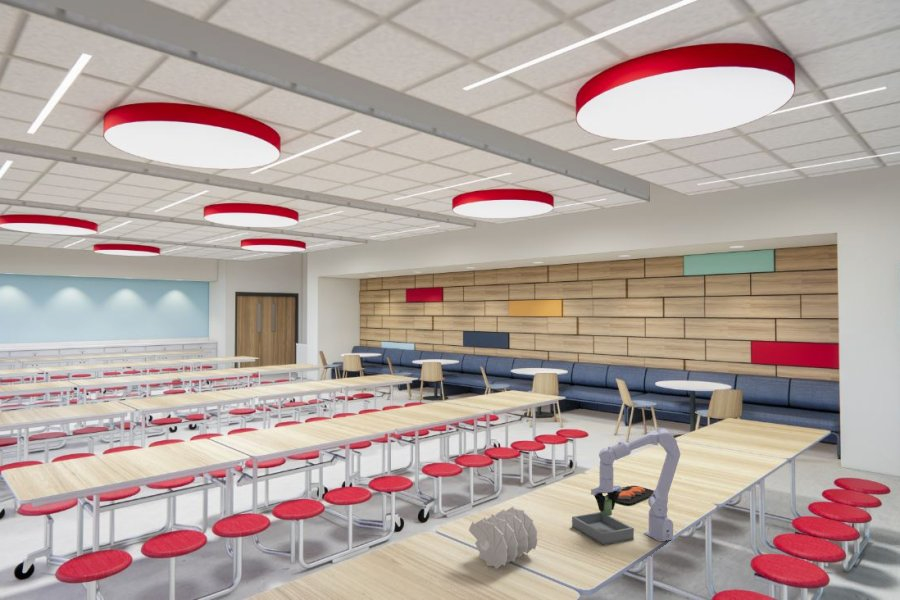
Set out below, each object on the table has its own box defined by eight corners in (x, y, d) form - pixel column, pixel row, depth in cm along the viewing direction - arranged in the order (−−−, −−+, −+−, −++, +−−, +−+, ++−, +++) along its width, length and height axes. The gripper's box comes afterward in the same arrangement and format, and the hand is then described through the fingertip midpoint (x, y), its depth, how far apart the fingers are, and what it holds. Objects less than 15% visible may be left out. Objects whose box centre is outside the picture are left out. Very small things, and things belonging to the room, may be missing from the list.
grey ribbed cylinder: (532, 563, 206) (492, 583, 188) (500, 531, 218) (459, 547, 200) (551, 525, 202) (512, 541, 184) (517, 494, 213) (477, 507, 195)
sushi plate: (629, 508, 258) (629, 500, 258) (576, 492, 280) (576, 484, 280) (658, 495, 277) (658, 487, 277) (607, 481, 299) (607, 474, 300)
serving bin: (633, 539, 220) (633, 528, 220) (602, 545, 214) (602, 534, 214) (601, 521, 238) (601, 511, 239) (572, 527, 232) (572, 516, 232)
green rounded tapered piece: (614, 514, 227) (614, 500, 227) (604, 516, 226) (604, 501, 226) (607, 511, 232) (607, 497, 232) (597, 512, 230) (597, 498, 230)
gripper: (613, 473, 235) (613, 504, 235) (586, 476, 230) (586, 508, 229) (624, 478, 229) (624, 510, 228) (597, 481, 223) (597, 514, 223)
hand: (606, 509), depth 228 cm, fingers closed on green rounded tapered piece, 5 cm apart
